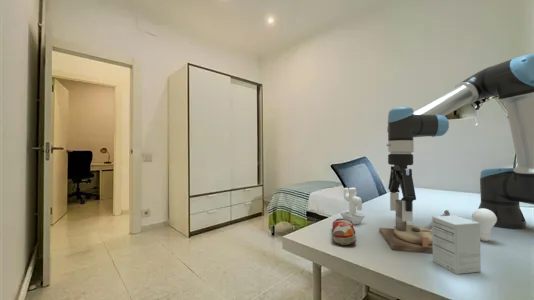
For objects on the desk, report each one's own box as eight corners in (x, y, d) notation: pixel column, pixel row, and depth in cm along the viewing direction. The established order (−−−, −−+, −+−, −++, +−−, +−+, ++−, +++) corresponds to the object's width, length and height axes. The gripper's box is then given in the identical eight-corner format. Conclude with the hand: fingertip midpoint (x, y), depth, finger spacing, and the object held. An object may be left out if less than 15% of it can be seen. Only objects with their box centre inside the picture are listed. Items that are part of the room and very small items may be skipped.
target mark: (426, 245, 72) (426, 236, 72) (428, 247, 71) (428, 237, 71) (422, 245, 73) (422, 235, 73) (423, 247, 72) (423, 237, 72)
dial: (428, 231, 84) (428, 198, 84) (447, 246, 71) (447, 206, 71) (389, 229, 87) (389, 196, 87) (400, 242, 74) (400, 204, 74)
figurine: (353, 227, 95) (353, 190, 95) (338, 220, 104) (338, 186, 104) (367, 224, 98) (367, 188, 98) (351, 218, 107) (351, 185, 107)
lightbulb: (473, 236, 84) (473, 205, 84) (497, 240, 80) (497, 208, 80) (471, 240, 80) (471, 208, 80) (496, 246, 75) (496, 211, 75)
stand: (435, 235, 85) (435, 231, 85) (463, 255, 69) (463, 250, 69) (379, 231, 90) (379, 227, 90) (392, 250, 73) (392, 245, 73)
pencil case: (320, 243, 79) (320, 228, 79) (334, 226, 96) (334, 214, 96) (355, 250, 74) (355, 234, 74) (363, 231, 91) (363, 218, 91)
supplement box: (454, 259, 67) (454, 214, 67) (481, 272, 59) (481, 222, 60) (431, 261, 66) (431, 215, 66) (456, 274, 58) (455, 224, 58)
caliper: (447, 224, 98) (447, 209, 98) (450, 225, 97) (450, 209, 97) (419, 233, 88) (419, 216, 88) (422, 234, 87) (422, 217, 87)
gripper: (379, 152, 93) (379, 206, 93) (400, 153, 69) (400, 225, 69) (400, 153, 92) (400, 207, 92) (429, 153, 67) (429, 227, 67)
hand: (400, 215), depth 80 cm, fingers open, 13 cm apart
